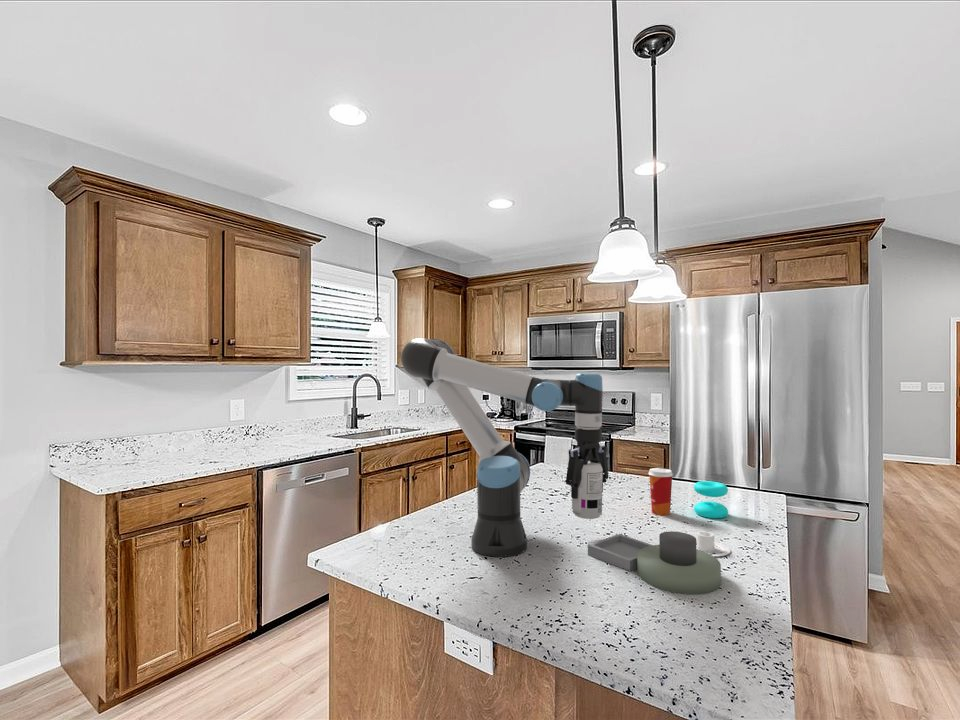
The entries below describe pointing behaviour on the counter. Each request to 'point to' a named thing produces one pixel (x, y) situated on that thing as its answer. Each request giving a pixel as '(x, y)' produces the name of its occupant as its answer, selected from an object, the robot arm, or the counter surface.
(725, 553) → the candle holder
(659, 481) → the paper cup
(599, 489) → the supplement can
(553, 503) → the counter surface
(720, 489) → the donuts
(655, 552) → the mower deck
